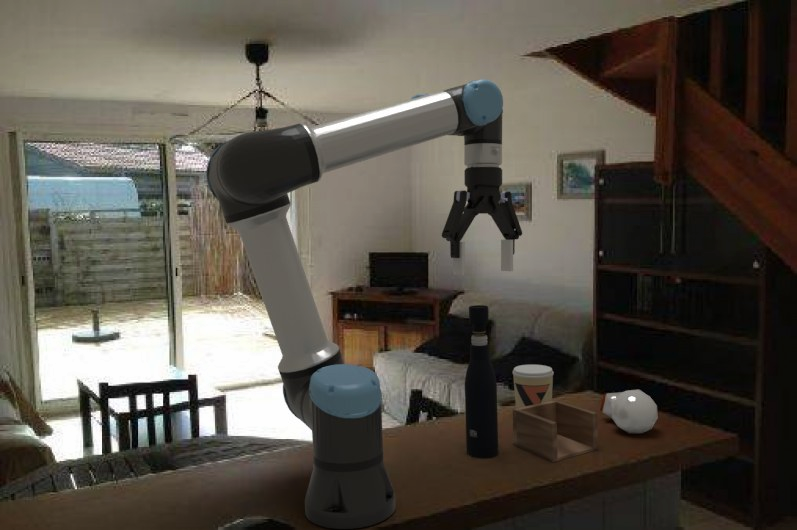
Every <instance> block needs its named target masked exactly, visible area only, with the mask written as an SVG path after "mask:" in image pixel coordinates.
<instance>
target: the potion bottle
mask: <svg viewBox="0 0 797 530" xmlns="http://www.w3.org/2000/svg"><path fill="white" fill-rule="evenodd" d="M599 411H600V412H602V413H603V414H605V415H607V416H608V418H611V419H612V420H613V422H614V423H615V424H616V426H617V427H618V428H620V429H621V430H623V432H626V433H627V434H629V435H630V434H631V435H632V434H633V435H634V434H644V433H645V432H648V431H650V430H652V429H653V427H654V426H655V423H656V422H657V420H658V418H659V416H658V405H657V404H656V403H655V401H654V399H652V398H651V396H650V395H648V394H646V393H645V392H643V391H642V390H641V389H631V390H629V389H628V390H625V391H622V392H620V391H619V392H611V393H610V392H609V393H603V396H602V400H601V404H600V409H599Z"/></svg>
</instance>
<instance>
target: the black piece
mask: <svg viewBox="0 0 797 530" xmlns="http://www.w3.org/2000/svg"><path fill="white" fill-rule="evenodd" d="M468 322H469V324H471V325H472V333H473V334H471V338H470V339H471V341H470V342H471V343H470V345H469V348H470V349H469V351H470V352H469V353H470V355H469V356H470V357H469V358H470V359H469V362H468V365H467V369H466V373H465V379H464V403H465V405H464V407H465V410H464V411H465V436H466V437H465V439H466V441H465V443H466V445H465V446H466V454H467V455H468V456H469V457H472V458H476V459H490V458H493V457H496V456H497V455H498V454H499V430H498V429H499V426H498V425H499V423H498V422H499V421H498V420H499V418H498V385H497V384H498V383H497V378H496V374H495V370H494V367H493V363H492V362H491V358H490V345H489V343H488V342H489V341H488V335H487V334H486V333H487V330H486V324H489V306H487V305H483V304H482V305H470V306H468Z"/></svg>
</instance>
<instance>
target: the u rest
mask: <svg viewBox="0 0 797 530" xmlns="http://www.w3.org/2000/svg"><path fill="white" fill-rule="evenodd" d="M598 425H599V424H598V412H595V411H593V410H589V409H587V408H583V407H580V406H577V405H573V404H570V403H568V402H564V401H562V400H558V399H554V400H553V399H552V401H548V402H544V403H539V404H534V405H530V406H525V407H521V408H516V407H515V408H513V409H512V439H513V440H512V443H513V446H515V447H518V448H520V449H522V450H524V451H527V452H529V453H532V454H534V455H535V456H538V457H541V458H542V459H545V460H546V461H549V462H552V463H554V462H559V461H562V460H565V459H570V458H574V457H576V456H579V455H584V454H586V453H591V452H593V451H594V452H595V451H597V450H598V451H599V442H598V441H599V440H598V439H599V438H598V435H599V433H598V432H599V431H598V429H599V427H598Z"/></svg>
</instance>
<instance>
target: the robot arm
mask: <svg viewBox="0 0 797 530" xmlns="http://www.w3.org/2000/svg"><path fill="white" fill-rule="evenodd" d="M503 107H504V97H503V93H502V91H501V89H500V88H499V86H498V85H497V83H495V82H493V81H492V80H489V79H476V80H472V81H468V82H467V83H465V84H462V85H458V86H455V87H451V88H447V89H444V90H439V91H437V92H433V93H424V94H418V93H416V94H415V95H413V96H412V97H411V98H410V99H408V100H407V99H406V100H404V101H400V102H396V103H393V104H389V105H386V106H382V107H378V108H374V109H372V110H368V111H364V112H360V113H356V114H353V115H349V116H345V117H342V118H338V119H335V120H331V121H328V122H325V123H321V124H316V125H314V126H307V125H305V124H304V123H301V122H299V123H296V124H292V125H287V126H284V127H279V128H278V127H277V128H272V129H266V130H264V129H263V130H257V131H249V132H244V133H242V134H238V135H237V136H235V137H233V138H232V139H231V138H230V139H229V140H227V141H225V142H223V143H222V144H220V145H218V146H217V148H215V150H214V151H213V152H212V154H211V155H210V157H209V161H208V162H207V166H206V171H205V172H206V174H205V175H206V182H207V186H208V188H209V191H210V192H211V194H212V196H213V197H214V198H215V199H216V200H217V201H218V203H219V206H220V209H221V212H222V214H223V218H224V221H225V223H226V225H227V226H228V227H229V228H230V227H231V228H232V229H234V230H236V231H237V232H238V233H239V235H240V238H241V242H242V244H243V247H244V248H243V249H244V250H245V252H246V257H247V259H248V261H249V265H250V267H251V270H252V273H253V275H254V279H255V281H256V285H257V287H258V290H259V292H260V295H261V298H262V302H263V304H264V307H265V310H266V312H267V316H268V318H269V322H270V324H271V328H272V329H273V331H274V332H273V333H274V335H275V338H276V340H277V343H278V347H279V350H280V352H281V356H282V357H281V359H280V361H279V363H278V365H277V369H278V372H279V376H280V378H281V382H282V394H283V399H284V402H285V404H286V406H287V408H288V410H289V411H290V412H291V413H292V415H293V416H295V417H296V418H297V419H298V420H300V421H301V422H302V423H304V425H305V426H306V427H308V428H309V429H310V431H311V435H312V436H311V437H312V455H313V459H312V460H313V469H312V471H311V474H310V475H311V476H310V480H309V483H308V485H307V490H306V494H305V497H304V510H305V511H304V514H305V516H306V518H307V520H308V521H309V522H311V523H313V524H315V525H317V526H319V527H323V528H328V529H336V530H354V529H360V528H361V529H362V528H366V527H370V526H373V525H377V524H380V523H381V522H383V521H385V520H387V519H388V518H389V517H391V516H392V515H393V514H394V512H395V510H396V493H395V490H394V487H393V484H392V482H391V479H390V476H389V474H388V471H387V468H386V465H385V463H384V462H385V461H384V445H383V443H384V441H383V440H384V439H383V413H382V412H383V411H382V410H383V407H382V400H383V398H382V397H383V392H382V389H381V383H380V378H379V376H378V375H377V373H375V372H374V371H373V370H372V369H370V368H368V367H364V366H363V365H359V366H357V365H355V364H347V363H345V361H344V359H343V356H342V352H341V349H340V346H339V345H338V344H337V343H334V342H332V341H330V340H329V339H328V338H327V334H326V332H325V328H324V325H323V323H322V319H321V316H320V313H319V310H318V307H317V305H316V301H315V298H314V296H313V293H312V290H311V287H310V284H309V280H308V278H307V275H306V271H305V268H304V265H303V264H302V260H301V256H300V254H299V252H298V248H297V245H296V242H295V239H294V236H293V233H292V232H291V231H292V230H291V228H290V225H289V221H288V218H287V214H288V212H289V210H290V208H291V206H292V204H291V201H290V200H291V199H290V198H289V193H292V192H294V191H296V190H298V189H301V188H303V187H306V186H308V185H311V184H315V183H317V182H320V181H321V178H322V177H323V175H324V174H325V173H329V172H332V171H335V170H339V169H343V168H345V167H348V166H351V165H354V164H357V163H361V162H365V161H368V160H371V159H374V158H378V157H380V156H383V155H387V154H389V153H391V154H392V153H394V152H397V151H399V150H402V149H403V150H404V149H406V148H410V147H413V146H415V145H416V146H417V145H420V144H422V143H426V142H428V141H432V140H435V139H438V138H442V137H445V136H457V137H463V141H464V144H463V145H464V157H463V158H464V159H463V161H464V166H466V168H465V169H464V186H465V187H466V190H455V191H454V193H453V202H452V205H451V208H450V211H449V213H448V215H447V219H446V221H445V224H444V226H443V230H442V232H441V237H442V238H443V239H445V240H446V241H447V242H449V245H450V246H449V249H450V258H451V259H452V276H453V275H454V276H465V274H466V273H465V272H466V271H465V270H466V261H465V260H466V254H465V250H466V249H465V244H466V242H465V241H462V240H463V238H464V236H465V234H466V232H467V231H468V229H469V228H470V226H471V224H472V223H473V221H474V219H475V218H476V217H477V216H478V215H479V214H483V215H484V214H485V215H486V214H488V216H490V217H491V218H492V220H493V222H494V224H495V225H496V227H497V228H498V231H500V233H501V235H502V237H503V239H500V271H502V272H514V255H515V253H516V252H515V249H516V248H515V245H516V244H515V241H516V240H518V239H520V237H521V236H522V235H523V230H522V227H521V224H520V222H519V218H518V216H517V215H518V214H517V213H516V209H515V208H514V207H515V206H514V204H513V198H512V192H511V191H508V190H507V191H501V190H500V187H501V186H502V185H503V169H502V167H500V166H502V164H503V112H504V110H503Z"/></svg>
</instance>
